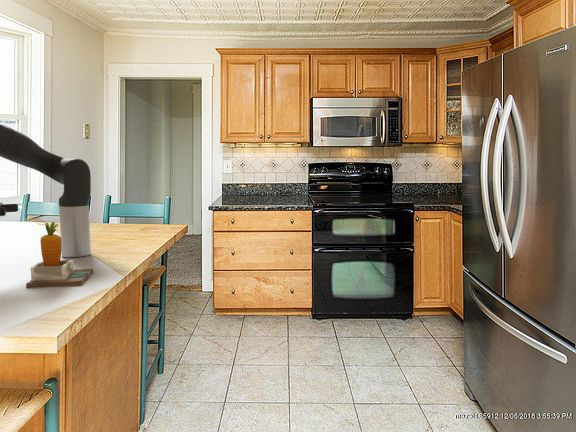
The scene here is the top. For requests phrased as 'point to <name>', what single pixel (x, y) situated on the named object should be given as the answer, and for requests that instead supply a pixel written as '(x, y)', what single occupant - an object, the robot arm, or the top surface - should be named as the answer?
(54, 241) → the carrot
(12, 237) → the top surface
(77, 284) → the socket board
